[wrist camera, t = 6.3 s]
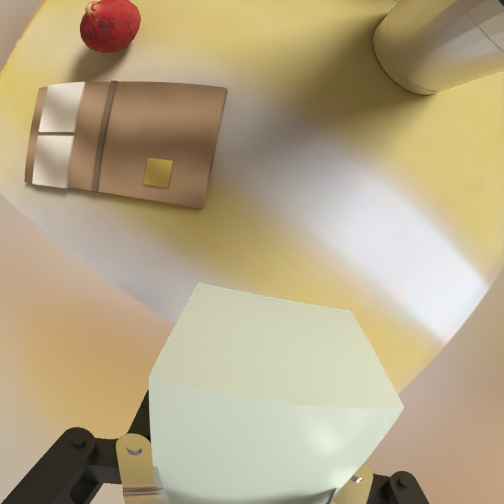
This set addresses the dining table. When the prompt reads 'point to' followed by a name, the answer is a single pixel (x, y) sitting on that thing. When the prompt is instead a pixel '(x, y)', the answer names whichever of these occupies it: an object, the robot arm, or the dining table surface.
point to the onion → (109, 25)
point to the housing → (264, 400)
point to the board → (126, 139)
